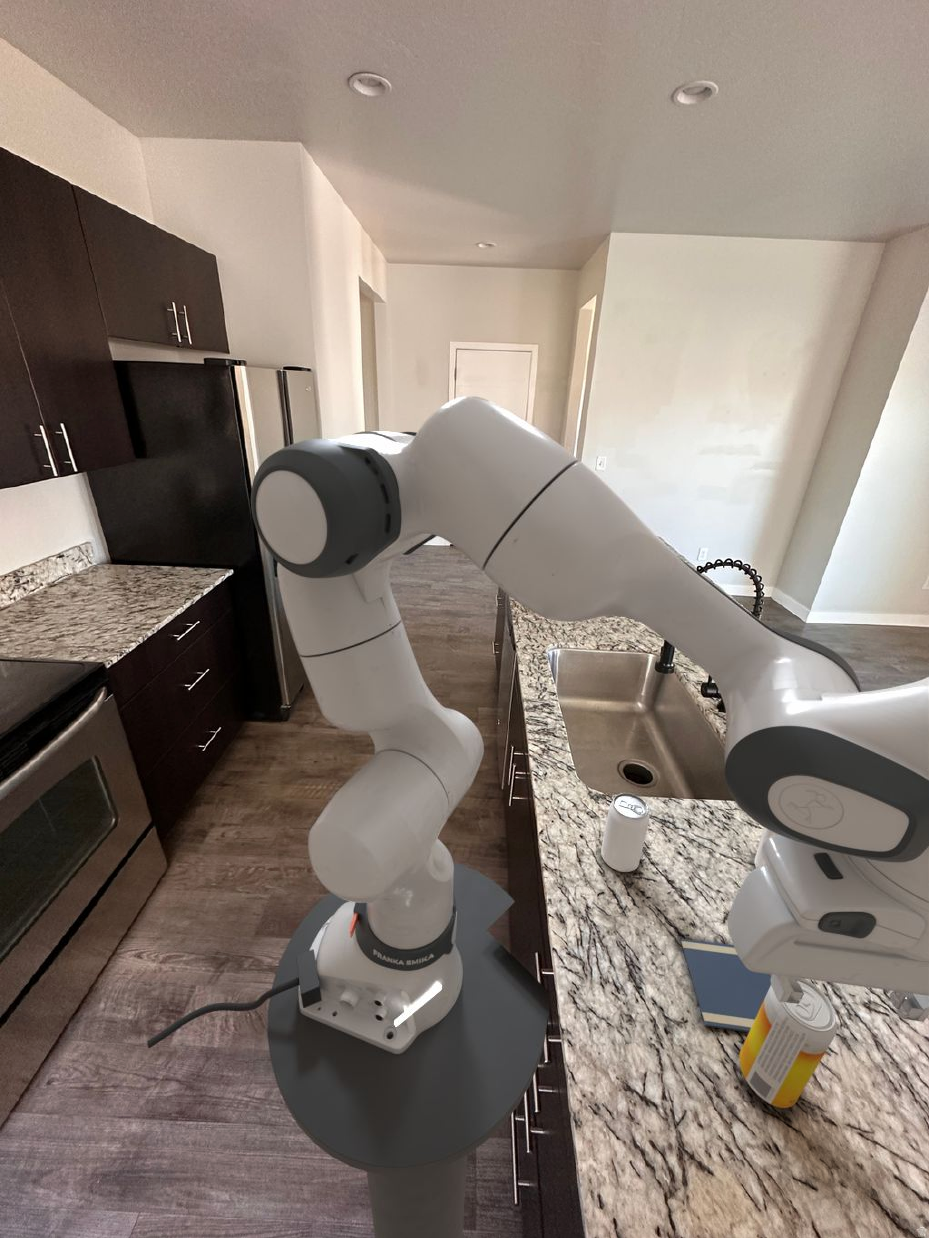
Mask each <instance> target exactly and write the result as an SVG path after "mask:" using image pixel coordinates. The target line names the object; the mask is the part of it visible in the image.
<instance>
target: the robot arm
mask: <svg viewBox="0 0 929 1238" xmlns="http://www.w3.org/2000/svg"><path fill="white" fill-rule="evenodd" d="M250 507H251V513H252V519H253V522H254V525H255V529H256V532H257V534H258V536H259V538H260V540H261V542H262V544H263V546H264V547H265V548H266V550H267V552H268V553H269V554H270V556H271V557H272V558H273V559H274V560H275V561H276V562H277V564H276V574H277V580H278V586H279V591H280V596H281V601H282V605H283V610H284V614H285V617H286V618H285V619H286V621H287V625H288V628H289V631H290V634H291V638H292V640H293V643H294V646H295V649H296V651H297V655H298V657H299V659H300V661H301V664H302V666H303V669H304V672H305V674H306V678H307V680H308V683H309V684H310V687H311V690H312V692H313V695H314V698H315V700H316V702H317V705H318V708H319V710H320V713H321V714H322V716H323V717H324V718H325V720H326V721H328V722H329V723H330V724H332V725H333V726H334V727H337V728H338V729H341V730H344V731H347V732H354V733H364V732H365V733H366V732H367V734H368V735H369V736H370V738H371V740H372V743H373V747H374V754H373V756H372V757H371V759H369V760H368V762H366V763H365V764H364V765H363V766H362V767H361V768H360V769H359V770H358V771H357V772H356V773H355V774H354V775H353V776H351V778H350V779H349V780H347V782H345V783H344V784H343V785H342V786H341V787H340V788H339V789H338V790H337V791H336V792H335V793H334V795H333V796H332V798H331V799H330V800H329V802H328V803H327V804H326V806H325V807H324V809H323V810H322V812H321V813H320V815H319V816H318V818H317V819H316V821H315V822H314V824H313V825H312V827H310V830H309V832H308V836H307V851H308V856H309V857H308V858H309V860H310V861H309V862H310V865H311V868H312V870H313V872H314V874H315V876H316V878H317V879H318V881H319V882H320V883H321V885H322V886H323V887H324V888H325V889H326V890H327V891H329V892H331V893H333V894H334V895H336V896H338V897H340V898H342V899H344V900H347V901H350V902H347V903H345V904H343V905H342V906H341V907H340V908H339V909H338V910H337V911H336V912H335V914H334V915H333V916H332V917H331V918H330V919H329V920H328V921H327V922H326V923H325V924H324V925H323V927H322V928H321V930H320V931H319V933H318V934H317V936H316V938H315V940H314V942H313V944H312V946H311V948H310V950H309V951H307V952H305V953H302V954H300V955H297V956H296V962H297V969H298V978H296V979H293V980H291V981H288V982H286V983H284V984H281V985H279V986H277V987H274V988H272V987H271V988H270V989H269V990H267V991H265V992H264V993H263V994H262V995H261V996H260V997H259V998H258V999H256V1000H254V1001H250V1002H216V1003H211V1004H208V1005H204V1006H202V1007H199V1008H197V1009H195V1010H192V1011H191V1012H189V1013H188V1014H186V1015H184V1016H183V1017H181V1018H179V1019H178V1020H176V1021H174V1022H173V1023H172V1024H171V1025H169V1026H168V1027H167V1028H165V1029H164V1030H162V1031H161V1032H159V1033H157V1034H156V1035H154V1036H153V1037H151V1038H149V1039H148V1040H146V1043H147V1048H148V1049H151V1048H152V1047H154V1046H155V1045H157V1044H158V1043H160V1042H162V1041H163V1040H164V1039H166V1038H168V1037H169V1036H170V1035H172V1034H174V1033H175V1032H177V1030H179V1029H180V1028H182V1027H183V1026H185V1025H186V1024H188V1023H189V1022H191V1021H193V1020H195V1019H197V1018H199V1017H202V1016H205V1015H206V1014H210V1013H213V1012H221V1011H222V1012H223V1011H224V1012H227V1011H228V1012H248V1011H254V1010H256V1009H258V1008H260V1007H261V1006H262V1005H264V1003H265V1002H266V1001H267V1000H270V998H271V997H272V996H274V995H277V994H279V993H281V992H283V991H286V990H288V989H291V988H293V987H295V986H298V985H299V1008H300V1012H301V1013H302V1014H303V1015H305V1016H307V1017H310V1018H312V1019H314V1020H316V1021H319V1022H321V1023H323V1024H326V1025H328V1026H331V1027H333V1028H335V1029H338V1030H340V1031H342V1032H345V1033H347V1034H349V1035H352V1036H354V1037H356V1038H359V1039H361V1040H363V1041H366V1042H368V1043H370V1044H373V1045H375V1046H377V1047H380V1048H382V1049H384V1050H387V1051H389V1052H391V1053H394V1054H401V1053H403V1052H404V1051H405V1050H406V1049H407V1048H408V1047H409V1046H410V1045H411V1044H412V1042H413V1041H414V1040H415V1039H416V1037H417V1036H418V1035H419V1034H420V1033H422V1032H423V1031H425V1030H426V1029H428V1028H430V1027H432V1026H434V1025H435V1024H437V1023H438V1022H439V1021H440V1020H442V1019H443V1018H444V1017H445V1016H446V1015H447V1014H448V1012H449V1011H450V1010H451V1009H452V1007H453V1006H454V1004H455V1002H456V1000H457V998H458V996H459V993H460V990H461V986H462V980H463V966H462V960H461V957H460V954H459V951H458V949H457V947H456V944H455V939H456V928H457V911H456V903H455V897H454V894H453V877H454V865H453V862H454V860H453V857H452V854H451V852H450V850H449V849H448V848H447V846H446V845H445V844H444V843H443V842H442V841H441V840H440V839H439V836H440V834H441V832H442V830H443V828H444V826H445V825H446V823H447V821H448V819H449V818H450V817H451V815H452V814H453V813H454V811H455V809H457V807H458V805H459V804H460V802H461V801H462V800H463V798H464V797H465V796H466V794H467V792H468V791H469V790H470V789H471V787H472V786H473V783H474V781H475V778H476V776H477V773H478V771H479V769H480V767H481V763H482V761H483V758H484V754H485V744H484V740H483V736H482V735H481V732H480V731H479V728H478V726H476V725H475V724H474V722H472V720H470V718H468V717H467V715H464V714H463V713H461V712H460V711H457V710H456V709H452V708H448V707H445V706H443V705H442V704H441V703H440V702H439V701H438V700H437V699H436V697H435V696H434V694H432V692H431V689H430V688H429V687H428V686H427V683H426V681H425V680H424V677H423V676H422V673H421V670H420V668H419V664H418V662H417V659H416V657H415V654H414V651H413V648H412V646H411V643H410V641H409V637H408V634H407V632H406V631H407V630H406V629H405V628H406V627H405V626H404V625H405V624H404V622H403V619H402V616H401V614H400V613H401V612H400V610H399V607H398V605H397V602H396V600H395V597H394V594H393V591H392V586H391V581H390V574H391V568H392V566H393V563H394V561H395V560H396V558H397V557H400V556H402V555H404V556H408V555H411V554H412V553H414V552H415V551H416V550H418V549H419V548H421V547H422V546H424V545H425V544H426V543H428V542H431V540H433V539H435V538H437V537H439V538H442V539H443V540H445V541H447V542H448V543H450V544H451V545H452V546H454V547H455V548H456V549H457V550H458V551H460V552H461V553H462V554H463V555H464V556H465V557H466V558H467V559H468V560H469V561H471V562H472V563H473V565H475V566H476V567H477V569H478V570H480V571H481V572H482V573H483V574H484V575H486V577H488V579H489V580H491V581H492V582H493V583H494V584H495V585H496V586H497V587H498V588H500V589H501V590H502V591H503V592H504V593H505V594H506V595H508V596H509V597H510V598H511V599H513V600H514V601H516V602H517V603H519V604H520V605H521V606H523V607H525V608H527V609H528V610H529V611H531V612H533V613H535V614H536V615H539V616H540V617H542V618H544V619H546V620H549V621H556V622H563V623H570V622H571V623H573V622H574V623H575V622H584V621H589V620H593V619H597V618H602V617H621V618H626V619H630V620H634V621H636V622H638V623H641V624H642V625H644V626H646V627H648V628H649V629H650V630H651V631H653V632H655V634H657V635H658V636H659V637H661V638H662V639H663V640H664V641H666V642H667V643H669V644H670V645H671V646H672V647H673V648H674V649H676V650H678V651H679V652H680V653H681V654H682V655H684V656H685V657H687V658H688V659H689V660H691V661H692V662H693V663H694V664H695V665H696V666H698V667H699V668H701V669H702V670H703V671H704V672H705V673H707V674H708V675H709V677H710V678H711V680H713V682H714V684H715V685H716V688H717V689H718V692H719V694H720V696H721V698H722V702H723V705H724V709H725V733H724V780H725V783H726V786H727V789H728V791H729V794H730V796H731V797H732V799H733V800H734V802H735V804H736V805H737V806H738V807H739V809H741V810H742V812H743V813H745V814H746V815H747V816H748V817H749V818H750V819H752V820H753V821H754V822H756V823H757V824H759V825H760V826H762V827H763V828H764V827H765V828H767V829H768V830H770V831H772V832H774V833H776V834H778V836H773V837H770V838H768V839H767V840H766V841H765V842H764V844H763V847H762V854H763V857H764V860H765V863H766V864H765V865H762V866H760V867H757V868H756V867H755V869H753V870H752V871H751V872H749V873H748V875H747V876H746V877H745V879H744V880H743V882H742V884H741V886H740V887H739V889H738V891H737V893H736V895H735V898H734V900H733V901H732V905H731V907H730V909H729V912H728V916H727V920H726V921H727V922H726V923H727V929H728V933H729V937H730V939H731V943H732V945H734V947H735V950H736V952H737V954H738V956H739V958H740V960H741V961H742V963H743V964H744V965H745V966H746V968H747V969H749V970H750V971H752V972H757V973H766V974H770V975H771V986H772V988H773V991H774V993H775V995H776V998H777V1000H778V1001H779V1002H787V1003H796V1004H799V1002H800V1001H799V999H801V998H802V997H803V995H804V992H803V990H802V988H801V986H800V984H799V983H798V982H797V978H803V979H806V980H809V981H810V980H811V981H818V982H826V983H832V984H833V983H834V984H839V985H846V986H847V985H848V986H854V987H855V986H856V987H862V988H870V989H878V990H885V991H891V992H890V994H889V1000H890V1003H891V1004H892V1006H893V1007H894V1008H895V1009H896V1013H897V1014H898V1016H899V1017H900V1018H901V1019H902V1020H908V1021H914V1022H922V1023H923V1022H925V1021H926V1019H927V1018H928V1017H929V676H927V677H926V678H923V679H920V680H917V681H914V682H909V683H906V684H902V685H897V686H893V687H887V688H882V689H875V690H867V691H862V688H861V683H860V681H859V678H858V676H857V674H856V672H855V670H854V669H853V668H852V667H851V665H850V663H848V662H847V661H846V660H845V658H843V657H842V656H841V655H840V654H839V653H837V652H835V651H834V650H833V649H831V648H829V647H827V646H825V645H823V644H821V643H819V642H817V641H815V640H811V639H808V638H805V637H802V636H799V635H796V634H793V633H790V632H787V631H784V630H783V629H779V628H776V627H775V626H772V625H770V624H768V623H767V622H765V621H763V620H761V619H760V618H758V616H755V615H754V614H753V613H751V612H750V611H749V610H748V609H746V608H745V607H744V606H742V604H739V603H738V601H736V600H735V599H734V598H732V597H731V596H730V595H728V594H727V593H726V592H724V591H723V590H722V589H720V588H719V587H718V586H717V585H715V584H714V583H713V582H712V581H711V580H709V579H708V578H706V577H705V576H704V575H702V573H700V572H699V571H698V570H696V569H695V568H693V567H692V566H691V565H690V564H689V563H687V562H685V560H683V559H682V558H681V557H679V556H678V555H677V554H675V552H674V551H672V549H671V548H669V546H667V544H666V543H665V542H664V541H663V540H662V539H661V538H660V537H659V536H658V535H656V534H655V532H654V531H652V529H651V528H650V527H648V525H646V523H645V522H644V521H643V520H642V519H641V518H640V517H639V516H638V515H637V513H635V512H634V510H632V508H631V507H630V506H629V505H628V504H627V503H626V502H625V501H624V500H623V499H622V498H621V497H620V496H619V495H618V494H617V493H616V492H615V491H613V489H612V488H611V487H610V486H609V485H608V484H606V483H605V481H603V480H602V478H600V477H599V476H598V474H597V473H595V472H594V471H592V469H590V468H589V467H588V466H587V465H586V464H585V463H583V462H582V461H581V460H579V459H578V458H577V457H576V456H575V455H573V453H571V452H570V451H568V450H567V449H566V448H565V447H563V445H561V444H560V443H558V442H557V441H555V440H554V439H553V438H552V437H550V436H549V435H548V434H547V433H545V432H543V431H542V430H540V429H539V428H537V427H535V426H534V425H532V424H531V423H530V422H529V421H526V420H525V419H523V418H522V417H520V416H518V415H516V414H515V413H513V412H512V411H510V410H508V409H506V408H505V407H503V406H502V405H501V406H500V405H499V404H497V403H495V402H494V401H492V400H489V399H486V398H484V397H480V396H474V395H473V396H470V395H469V396H461V397H456V398H455V399H452V400H450V401H448V402H445V403H444V404H443V405H441V406H439V407H438V408H437V409H436V410H435V411H434V412H432V413H431V414H430V415H429V416H428V417H427V418H426V419H425V421H424V422H423V423H422V425H421V426H420V427H419V429H418V431H417V432H415V431H401V432H395V431H382V430H365V431H363V430H362V431H358V432H354V433H353V434H347V435H340V436H335V437H331V438H310V439H304V440H302V441H298V442H294V443H291V444H290V445H287V446H284V447H282V448H280V449H279V450H277V451H275V452H273V453H271V454H270V455H268V456H267V458H265V459H264V460H263V462H262V463H261V464H260V465H259V466H258V469H257V470H256V473H255V475H254V477H253V481H252V486H251V492H250ZM335 1015H336V1016H335ZM388 1035H393V1038H392V1039H387V1036H388Z"/></svg>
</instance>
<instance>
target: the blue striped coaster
mask: <svg viewBox="0 0 929 1238" xmlns="http://www.w3.org/2000/svg"><path fill="white" fill-rule="evenodd" d="M680 943H681V948H682V950H683V951H682V952H683V954H684V958H685V961H686V965H687V968H688V972H689V976H690V980H691V982H692V985H693V989H694V993H695V996H696V1000H697V1003H698V1007H699V1011H700V1013H701V1018H702V1021H703V1025H704V1027H708V1028H714V1029H721V1030H729V1031H735V1032H741V1033H746V1034H747V1033H748V1034H749V1031H750V1029H751V1027H752V1025H753V1023H754V1021H755V1018H756V1016H757V1014H758V1012H759V1010H760V1008H761V1005H762V1003H763V1001H764V999H765V997H766V995H767V992H768V990H769V988H770V986H771V976H772V974H766V973H757V972H752V971H750V970H749V969H747V968H746V966H745V965H744V964H743V963H742V961H741V960H740V958H739V956H738V954H737V952H736V950H735V947H734V945H733V944H726V943H719V942H710V941H704V940H696V939H688V938H680Z"/></svg>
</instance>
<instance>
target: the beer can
mask: <svg viewBox="0 0 929 1238" xmlns="http://www.w3.org/2000/svg"><path fill="white" fill-rule="evenodd" d="M797 982H798V983H799V984H800V986H801V988H802V990H803V992H804V995H803V997H802V998H801V999H799V1001H800V1002H799V1004H796V1003H787V1002H779V1001H778V1000H777V998H776V995H775V993H774V991H773V988H772V986H770V988H769V990H768V992H767V995H766V997H765V999H764V1001H763V1003H762V1005H761V1008H760V1010H759V1012H758V1014H757V1016H756V1018H755V1021H754V1023H753V1025H752V1027H751V1029H750V1031H749V1033H748V1034H747V1036H746V1038H745V1040H744V1042H743V1045H742V1046H741V1049H740V1051H739V1057H738V1061H739V1067H740V1070H741V1073H742V1075H743V1077H744V1079H745V1081H746V1083H747V1084H748V1085H749V1087H750V1088H751V1090H753V1092H754V1093H755V1094H756V1095H757V1096H758V1097H759V1098H761V1100H763V1101H765V1102H766V1103H767V1104H769V1105H771V1106H773V1107H777V1108H781V1109H787V1108H791V1107H793V1106H795V1104H796V1103H797V1101H798V1099H799V1098H800V1096H801V1095H802V1093H803V1091H804V1090H805V1088H806V1086H807V1085H808V1083H809V1081H810V1080H811V1078H812V1076H813V1074H814V1073H815V1071H816V1069H817V1067H818V1066H819V1065H820V1063H821V1061H822V1060H823V1058H824V1056H825V1055H826V1052H827V1051H828V1048H829V1047H830V1046H831V1044H832V1042H833V1040H834V1039H835V1037H836V1036H837V1033H838V1022H837V1014H836V1010H835V1008H834V1006H833V1004H832V1002H831V1001H830V999H829V998H828V996H827V995H826V994H825V993H824V991H822V989H820V988H819V986H817V985H816V984H814V983H813V982H812V981H810V980H809V979H803V978H797Z"/></svg>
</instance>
